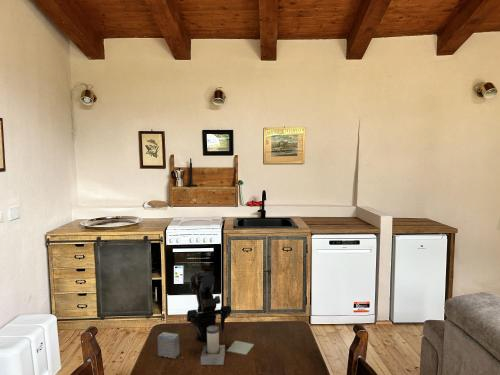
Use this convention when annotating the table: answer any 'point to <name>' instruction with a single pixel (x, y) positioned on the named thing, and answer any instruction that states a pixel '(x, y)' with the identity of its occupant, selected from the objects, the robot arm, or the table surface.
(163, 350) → the medicine box
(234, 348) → the mat
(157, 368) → the table surface
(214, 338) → the plug
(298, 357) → the table surface
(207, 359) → the housing
